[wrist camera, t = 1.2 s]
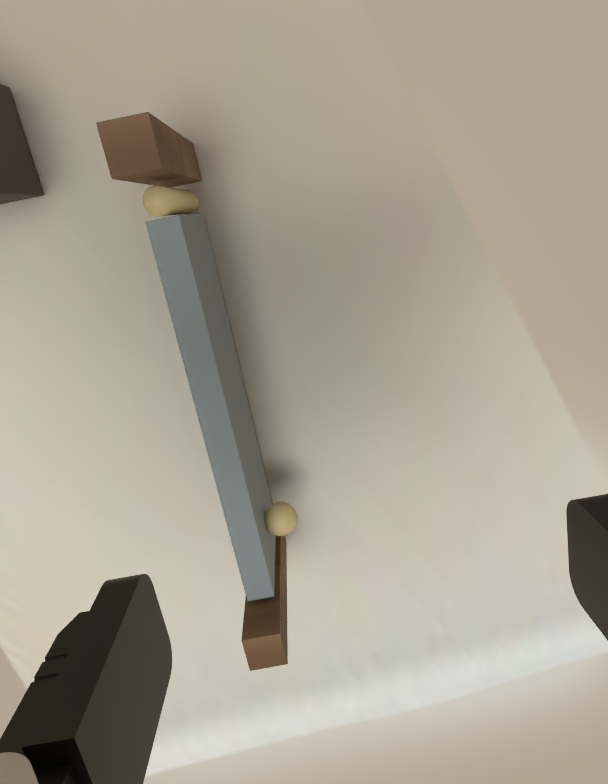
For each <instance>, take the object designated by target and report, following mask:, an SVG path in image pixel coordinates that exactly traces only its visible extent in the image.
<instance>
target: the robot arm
mask: <svg viewBox="0 0 608 784" xmlns="http://www.w3.org/2000/svg"><path fill="white" fill-rule="evenodd" d="M567 533H568V555H569V573H570V579H571V583H572V586H573V589H574V592H575V594H576V597H577V599H578V601H579V602H580V604H581V606H582V607H583V608H584V610H585V611H586V612H587V614H588V615H589V616H590V618H591V619H592V620H593V622H594V623H595V624H596V626H597V627H598V628H599V629H600V631H601V632H602V633H603V635H604V636H605V637H606V639H607V640H608V494H605V495H599V496H593V497H588V498H582V499H576V500H571V501H570V502H569V503H568V505H567ZM171 669H172V651H171V644H170V639H169V635H168V632H167V629H166V626H165V623H164V619H163V616H162V613H161V610H160V606H159V603H158V600H157V597H156V593H155V590H154V587H153V584H152V581H151V579H150V578H149V576H148V575H147V574H141V575H135V576H130V577H124V578H118V579H113V580H107V581H105V583H104V584H103V585H102V587H101V589H100V591H99V593H98V595H97V597H96V599H95V601H94V603H93V605H92V607H91V609H90V611H87V612H81V613H79V614H78V615H77V616H76V617H75V618H74V619H73V620H72V621H71V622H70V623H69V624H68V625H67V626H66V627H65V628H64V629H63V630H62V631H61V632H60V633H59V634H58V635H57V637H56V639H55V641H54V642H53V644H52V646H51V648H50V650H49V651H48V653H47V655H46V657H45V662H42V664H41V666H40V668H39V670H38V671H37V673H36V675H35V677H34V678H35V681H34V682H31V684H30V686H29V688H28V690H27V691H26V693H25V695H24V697H23V699H22V701H21V703H20V704H19V706H18V708H17V710H16V712H15V713H14V715H13V717H12V719H11V721H10V722H9V724H8V726H7V728H6V730H5V732H4V733H3V735H2V737H1V739H0V784H143V781H144V777H145V773H146V769H147V766H148V762H149V758H150V754H151V750H152V746H153V742H154V738H155V734H156V730H157V726H158V722H159V718H160V715H161V711H162V707H163V703H164V699H165V695H166V691H167V687H168V683H169V679H170V675H171Z"/></svg>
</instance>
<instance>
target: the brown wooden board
mask: <svg viewBox="0 0 608 784" xmlns="http://www.w3.org/2000/svg"><path fill="white" fill-rule="evenodd" d="M96 124H97V128H98V131H99V135H100V138H101V142H102V145H103V149H104V152H105V156H106V160H107V163H108V167H109V170H110V174H111V177H112V179H117V180H124V181H130V182H136V183H142V184H148V185H155V186H163V187H174V186H179V185H184V184H189V183H194V182H199V181H202V179H201V175H200V170H199V166H198V162H197V158H196V153H195V149H194V145H193V143H192V142H190V141H189V140H187V139H186V138H184V137H183V136H182V135H180V134H179V133H177V132H176V131H174V130H173V129H172V128H170V127H169V126H167V125H166V124H164V123H163V122H161V121H160V120H159V119H157V118H156V117H154V116H153V115H151V114H150V113H149V112H146V113H141V114H136V115H131V116H127V117H122V118H117V119H112V120H107V121H102V122H98V123H96ZM242 643H243V647H244V651H245V654H246V658H247V661H248V665H249V668H250V671H251V670H257V669H263V668H268V667H274V666H279V665H285V664H288V662H287V566H286V539H285V536H276V541H275V587H274V597H269V598H263V599H258V600H252V601H248V600H247V597H246V601H245V611H244V622H243V632H242Z"/></svg>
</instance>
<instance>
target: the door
mask: <svg viewBox="0 0 608 784" xmlns="http://www.w3.org/2000/svg"><path fill="white" fill-rule="evenodd" d="M143 203H144V206H145V208H146V210H147V211H148V212H149V213H151V214H153V215H155V216H165V215H177V214H187V215H177V216H173V217H168V218H163V219H158V220H153V221H148V222H146V225H147V229H148V233H149V237H150V240H151V244H152V248H153V251H154V255H155V259H156V263H157V266H158V270H159V274H160V277H161V281H162V285H163V289H164V292H165V296H166V300H167V303H168V307H169V311H170V315H171V318H172V322H173V326H174V329H175V333H176V337H177V341H178V344H179V348H180V352H181V355H182V359H183V363H184V366H185V370H186V374H187V378H188V381H189V385H190V389H191V392H192V396H193V400H194V404H195V407H196V411H197V415H198V418H199V422H200V426H201V430H202V433H203V437H204V441H205V444H206V448H207V452H208V456H209V459H210V463H211V467H212V470H213V474H214V478H215V482H216V485H217V489H218V493H219V496H220V500H221V504H222V508H223V511H224V515H225V519H226V522H227V526H228V530H229V534H230V537H231V541H232V545H233V548H234V552H235V556H236V560H237V563H238V567H239V571H240V574H241V578H242V582H243V586H244V589H245V593H246V597H247V600H248V601H252V600H258V599H263V598H269V597H274V587H275V541H276V536H285V535H288V534H290V533H291V532H292V531H293V530H294V529H295V527H296V525H297V519H298V518H297V513H296V511H295V509H294V508H293V507H292V506H291V505H290V504H288V503H285V502H278V503H275V504H272V500H271V496H270V492H269V487H268V483H267V479H266V475H265V470H264V466H263V462H262V458H261V454H260V449H259V445H258V441H257V437H256V432H255V428H254V424H253V420H252V415H251V411H250V407H249V403H248V399H247V394H246V390H245V386H244V382H243V377H242V373H241V369H240V365H239V360H238V356H237V352H236V348H235V344H234V339H233V335H232V331H231V327H230V322H229V318H228V314H227V310H226V306H225V301H224V297H223V293H222V289H221V284H220V280H219V276H218V272H217V267H216V263H215V259H214V255H213V251H212V246H211V242H210V238H209V234H208V229H207V225H206V221H205V217H204V213H199V214H190V213H193V212H195V211H196V209H197V208H198V205H199V201H198V198H197V196H196V195H195V194H194V193H193V192H191V191H187V190H181V189H175V188H169V187H163V186H152V187H150V188H148V189H147V190H146V191H145V193H144V196H143Z"/></svg>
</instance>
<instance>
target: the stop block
mask: <svg viewBox="0 0 608 784" xmlns="http://www.w3.org/2000/svg"><path fill="white" fill-rule="evenodd" d="M38 196H43V192H42V188H41V185H40V182H39V179H38V176H37V173H36V170H35V167H34V163H33V160H32V157H31V154H30V151H29V148H28V145H27V142H26V138H25V135H24V132H23V129H22V126H21V123H20V120H19V117H18V113H17V110H16V107H15V104H14V101H13V98H12V95H11V92H10V88H8V87H6V86H4V85H1V84H0V204H3V203H8V202H13V201H18V200H23V199H28V198H33V197H38Z"/></svg>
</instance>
